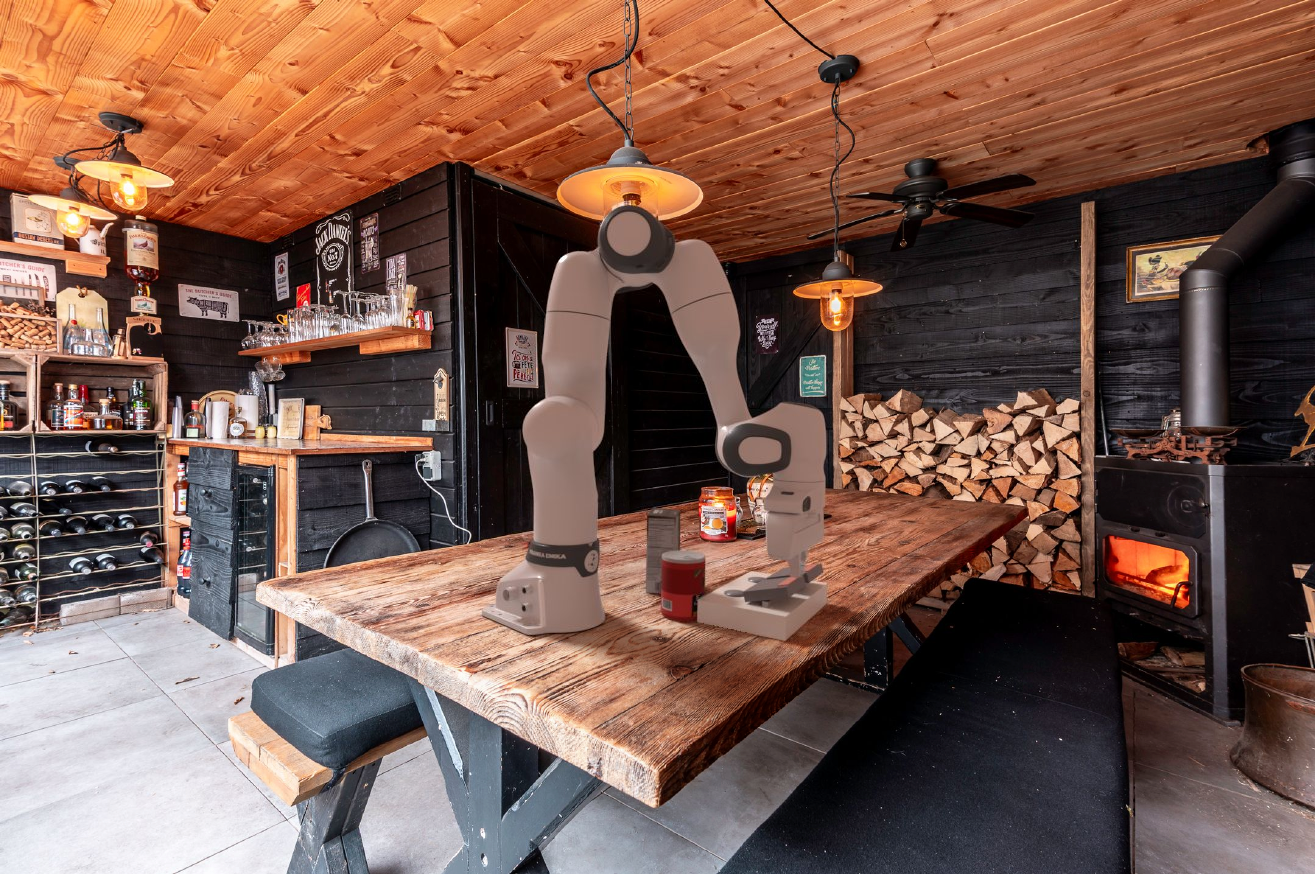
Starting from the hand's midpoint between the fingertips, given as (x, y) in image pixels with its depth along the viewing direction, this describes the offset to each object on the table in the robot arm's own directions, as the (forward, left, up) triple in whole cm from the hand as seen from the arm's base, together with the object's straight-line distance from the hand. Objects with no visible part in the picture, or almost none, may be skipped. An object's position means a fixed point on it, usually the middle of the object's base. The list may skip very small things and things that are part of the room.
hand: (796, 575), depth 105 cm
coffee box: (-31, +7, -9) cm, 33 cm away
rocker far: (-4, +10, -3) cm, 11 cm away
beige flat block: (-7, +4, -9) cm, 12 cm away
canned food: (-19, -6, -9) cm, 22 cm away
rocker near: (-4, -1, -3) cm, 5 cm away
